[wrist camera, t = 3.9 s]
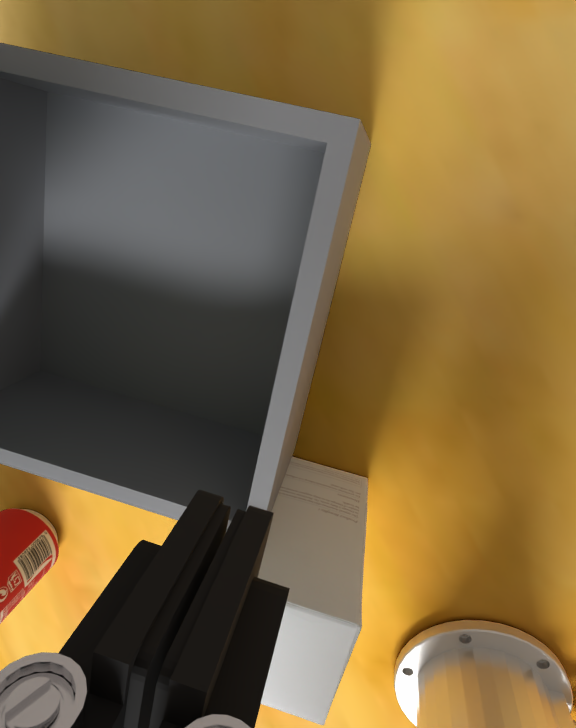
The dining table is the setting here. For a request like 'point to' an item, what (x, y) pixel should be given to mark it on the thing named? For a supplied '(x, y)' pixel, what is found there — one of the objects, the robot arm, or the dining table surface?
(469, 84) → the dining table surface
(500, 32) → the dining table surface
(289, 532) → the supplement box
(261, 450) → the box
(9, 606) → the beverage can
